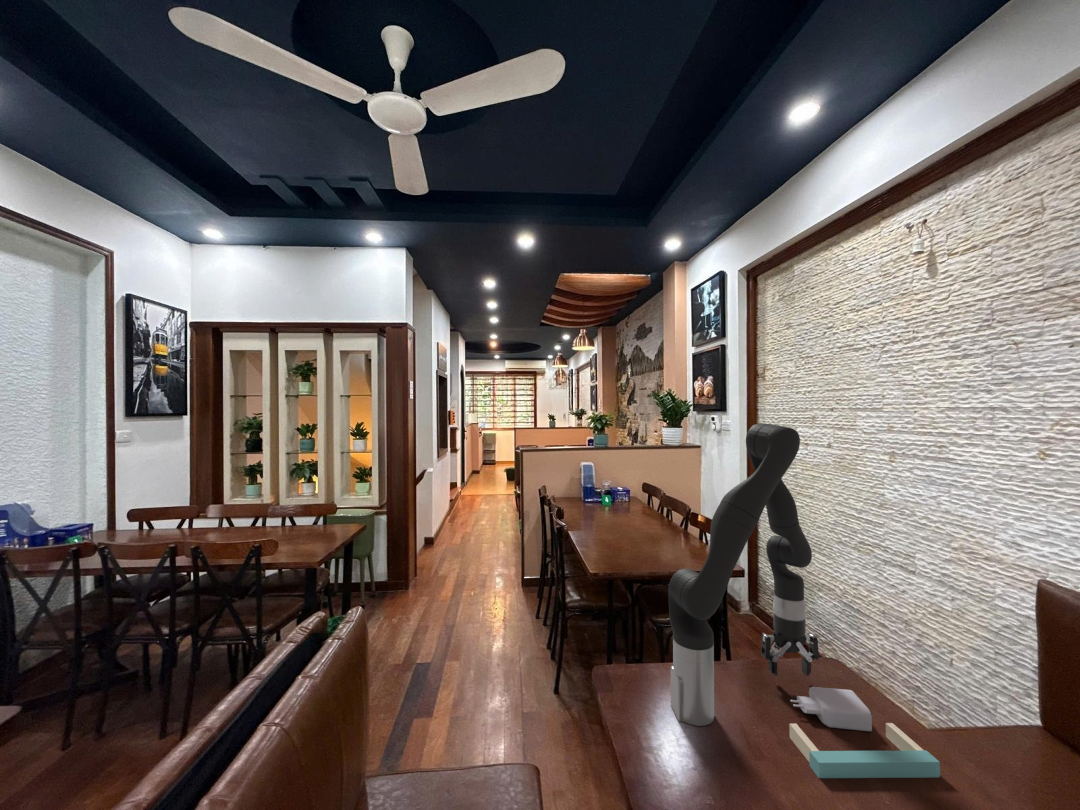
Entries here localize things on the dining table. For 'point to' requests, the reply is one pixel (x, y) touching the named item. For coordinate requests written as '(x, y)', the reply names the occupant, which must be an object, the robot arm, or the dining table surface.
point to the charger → (836, 708)
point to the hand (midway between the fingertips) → (789, 674)
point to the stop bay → (869, 758)
